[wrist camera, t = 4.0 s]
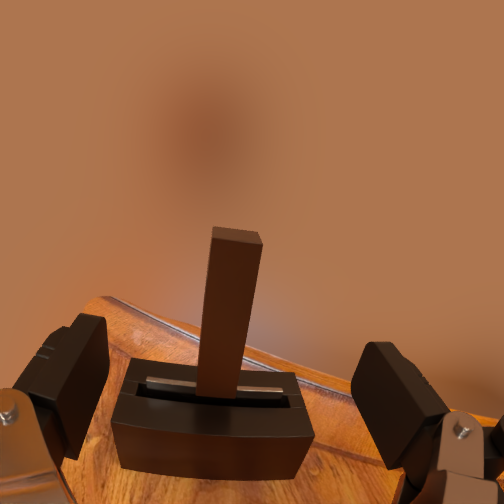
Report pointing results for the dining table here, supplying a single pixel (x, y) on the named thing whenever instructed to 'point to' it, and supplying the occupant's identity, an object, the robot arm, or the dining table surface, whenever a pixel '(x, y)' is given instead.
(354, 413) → the dining table surface
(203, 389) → the knife
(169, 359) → the dining table surface
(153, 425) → the knife stand
